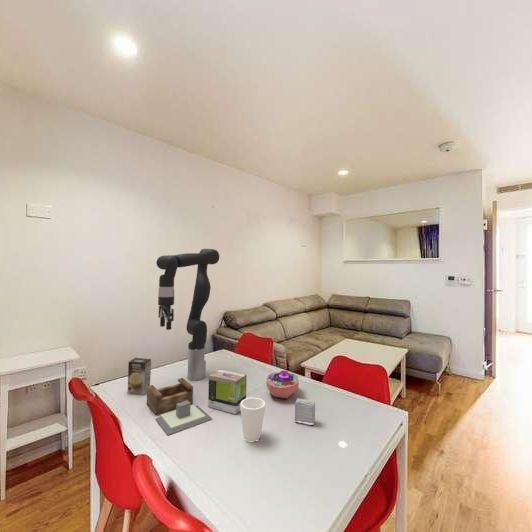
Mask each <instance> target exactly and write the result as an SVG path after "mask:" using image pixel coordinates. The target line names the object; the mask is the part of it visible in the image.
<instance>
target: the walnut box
mask: <svg viewBox="0 0 532 532" xmlns="http://www.w3.org/2000/svg"><path fill="white" fill-rule="evenodd" d="M177 382H178V383H175V384H172V385H169V386H165V387H161V388H160V387H159V388H156V387H155V386H154V385H151V384H150V386H147V393H146V406H147V407H148V409H149V410H150V411H151V412H152V414H153V415H154V416H156V417H157V416H160V415H161V414H165V413H168V412H171V411H174V410H176V404H177V403H181V402H184V401H187V400H188V401H189V402H190V403H191V404H190V405H194V401H193V399H194V395H193V394H194V386H193V385H192V384H191V383H190V382H189V381H187V380H186V379H185V378H183V377H181V378H177Z"/></svg>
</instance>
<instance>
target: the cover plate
mask: <svg viewBox="0 0 532 532" xmlns="http://www.w3.org/2000/svg"><path fill="white" fill-rule="evenodd" d="M190 404H191V403H190V402H189V401H188V400H187V401H184V402H181V403H177V404H176V410H173V411H170V412H166V413H163V414H160V415H159V416H160V417H161V418H162V420H163V421H164V422H165V423H166V425H167V426H168V427H169V428H170V430H174V429H176V428H179V427H182V426H185V425H188V424H191V423H193V422H196V421H199V420H202V419H205V418H206V416H205V415H204V414H203V413H202V412H201V411H200V410H199V409H198V408H197V407H195V406H196V405H195V404H192V405H190Z"/></svg>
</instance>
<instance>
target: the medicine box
mask: <svg viewBox="0 0 532 532" xmlns="http://www.w3.org/2000/svg"><path fill="white" fill-rule="evenodd" d="M314 420H315V421H316V401H315V400H310V399H304V398H296V401H295V402H294V422H295V421H301V422H308V423H314V424H315V422H314Z"/></svg>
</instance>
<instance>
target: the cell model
mask: <svg viewBox="0 0 532 532" xmlns="http://www.w3.org/2000/svg"><path fill="white" fill-rule="evenodd" d="M265 384H266V388H267V390H268V391H269V393H270V394H271V396H273V397H276V398H278V397H279V398H280V399H288V398H290V396H293V394H295V393H296V392H297V391H298V390H299V385H300V380H299V376H298V375H297V374H295V373H293V372H288V371H287V370H285V369H283V370H281V371H279V372H275V371H274V372H272V373H270V374H268V375H266V383H265Z"/></svg>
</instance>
